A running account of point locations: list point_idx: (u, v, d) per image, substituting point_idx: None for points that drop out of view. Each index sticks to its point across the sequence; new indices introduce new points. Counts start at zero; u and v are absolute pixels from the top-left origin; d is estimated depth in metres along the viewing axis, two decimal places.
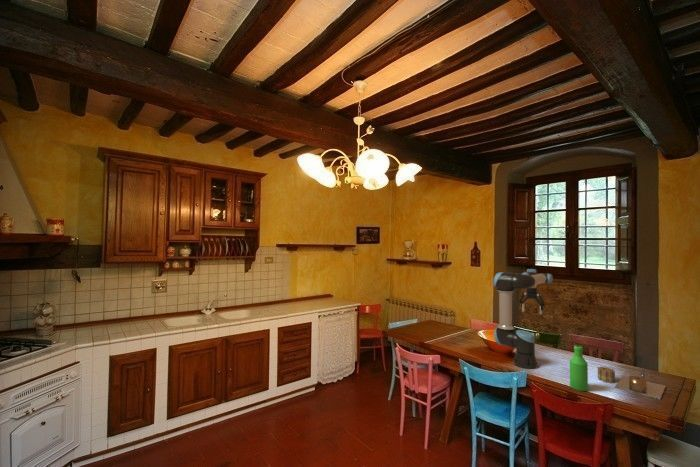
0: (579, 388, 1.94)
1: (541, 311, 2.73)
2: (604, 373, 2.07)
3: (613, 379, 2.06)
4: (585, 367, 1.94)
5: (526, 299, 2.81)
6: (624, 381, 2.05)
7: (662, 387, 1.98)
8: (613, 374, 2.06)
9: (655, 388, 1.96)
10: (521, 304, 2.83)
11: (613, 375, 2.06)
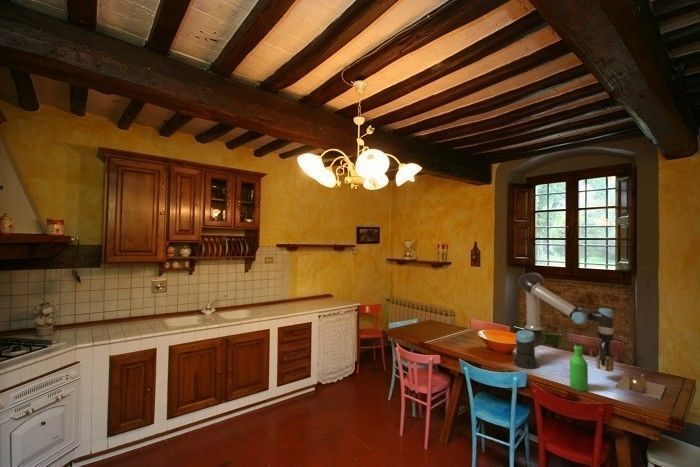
0: (579, 388, 1.94)
1: (603, 367, 2.06)
2: None
3: (611, 368, 2.07)
4: (585, 367, 1.94)
5: None
6: (624, 381, 2.05)
7: (662, 387, 1.98)
8: (612, 363, 2.07)
9: (655, 388, 1.96)
10: (605, 356, 2.15)
11: (612, 364, 2.07)
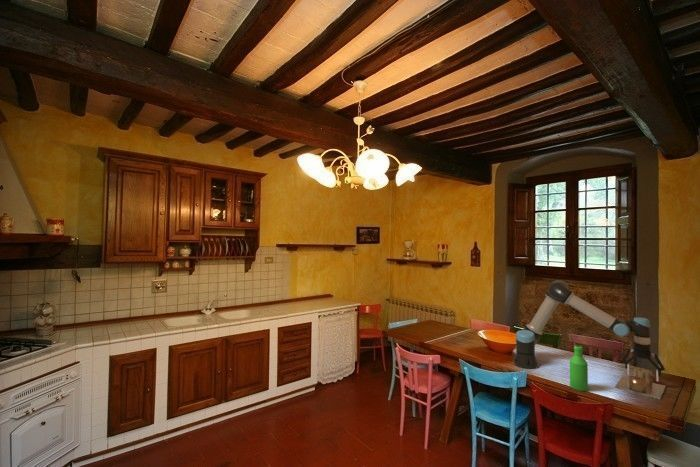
0: (579, 388, 1.94)
1: (658, 377, 2.00)
2: (651, 375, 2.02)
3: None
4: (585, 367, 1.94)
5: (633, 358, 2.08)
6: (624, 381, 2.05)
7: (662, 387, 1.98)
8: (645, 372, 2.07)
9: (655, 388, 1.96)
10: (625, 364, 2.11)
11: None
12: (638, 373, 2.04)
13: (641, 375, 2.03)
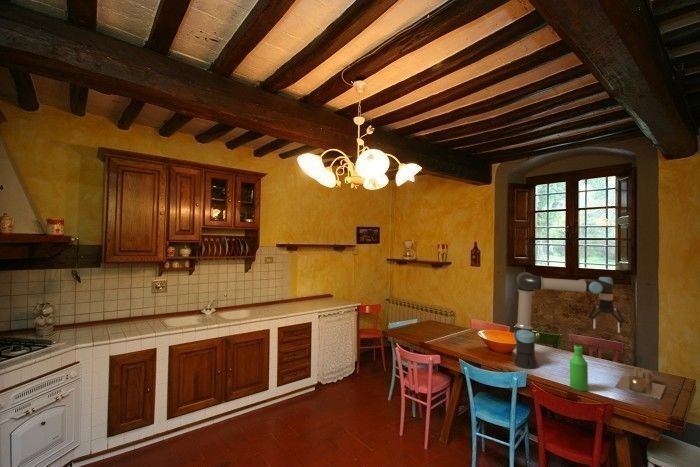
0: (579, 388, 1.94)
1: (619, 329, 2.23)
2: (651, 375, 2.02)
3: None
4: (585, 367, 1.94)
5: None
6: (624, 381, 2.05)
7: (662, 387, 1.98)
8: (645, 372, 2.07)
9: (655, 388, 1.96)
10: (592, 319, 2.34)
11: None
12: (638, 373, 2.04)
13: (641, 375, 2.03)
